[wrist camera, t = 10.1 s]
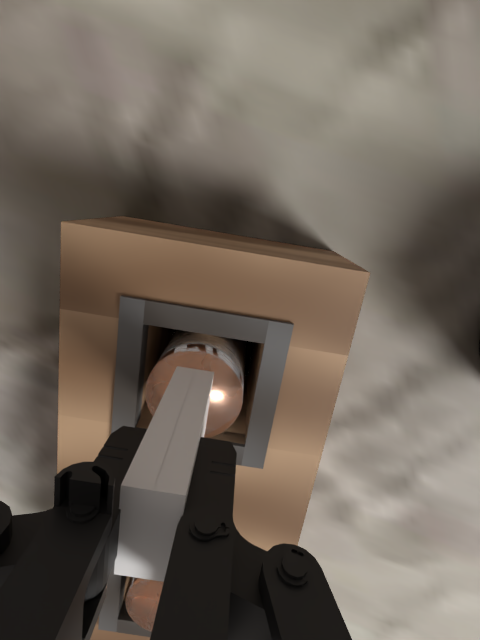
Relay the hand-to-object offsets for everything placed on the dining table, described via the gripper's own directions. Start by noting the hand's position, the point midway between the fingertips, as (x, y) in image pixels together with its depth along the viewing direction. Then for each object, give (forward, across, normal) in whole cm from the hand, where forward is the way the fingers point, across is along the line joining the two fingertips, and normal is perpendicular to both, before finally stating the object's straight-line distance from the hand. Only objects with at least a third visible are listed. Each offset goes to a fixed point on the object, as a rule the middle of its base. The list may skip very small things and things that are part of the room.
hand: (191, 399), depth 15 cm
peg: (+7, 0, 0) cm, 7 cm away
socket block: (+8, 0, -6) cm, 10 cm away
